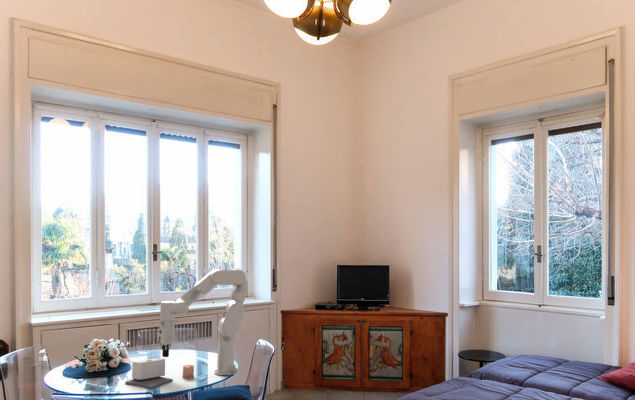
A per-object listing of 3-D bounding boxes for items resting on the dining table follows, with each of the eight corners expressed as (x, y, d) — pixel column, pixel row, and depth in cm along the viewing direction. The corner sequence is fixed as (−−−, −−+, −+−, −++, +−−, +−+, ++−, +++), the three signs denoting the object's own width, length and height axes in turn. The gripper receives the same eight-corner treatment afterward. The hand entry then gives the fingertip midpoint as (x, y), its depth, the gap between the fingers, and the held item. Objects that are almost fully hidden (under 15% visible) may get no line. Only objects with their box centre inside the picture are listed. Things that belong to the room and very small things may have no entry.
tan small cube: (196, 376, 292) (196, 365, 293) (189, 379, 287) (189, 368, 287) (187, 375, 295) (187, 364, 295) (180, 377, 290) (180, 366, 290)
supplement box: (165, 358, 287) (140, 362, 276) (165, 375, 286) (140, 380, 275) (156, 357, 293) (131, 361, 282) (156, 374, 292) (131, 378, 281)
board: (172, 381, 282) (172, 379, 282) (151, 389, 268) (151, 386, 268) (147, 376, 290) (147, 374, 290) (125, 384, 276) (125, 381, 276)
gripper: (162, 326, 283) (161, 360, 282) (181, 322, 297) (179, 354, 296) (152, 324, 287) (150, 358, 286) (170, 320, 300) (169, 353, 299)
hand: (165, 356), depth 291 cm, fingers closed
